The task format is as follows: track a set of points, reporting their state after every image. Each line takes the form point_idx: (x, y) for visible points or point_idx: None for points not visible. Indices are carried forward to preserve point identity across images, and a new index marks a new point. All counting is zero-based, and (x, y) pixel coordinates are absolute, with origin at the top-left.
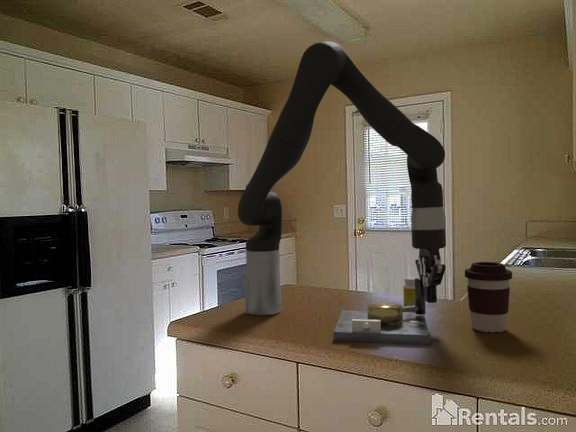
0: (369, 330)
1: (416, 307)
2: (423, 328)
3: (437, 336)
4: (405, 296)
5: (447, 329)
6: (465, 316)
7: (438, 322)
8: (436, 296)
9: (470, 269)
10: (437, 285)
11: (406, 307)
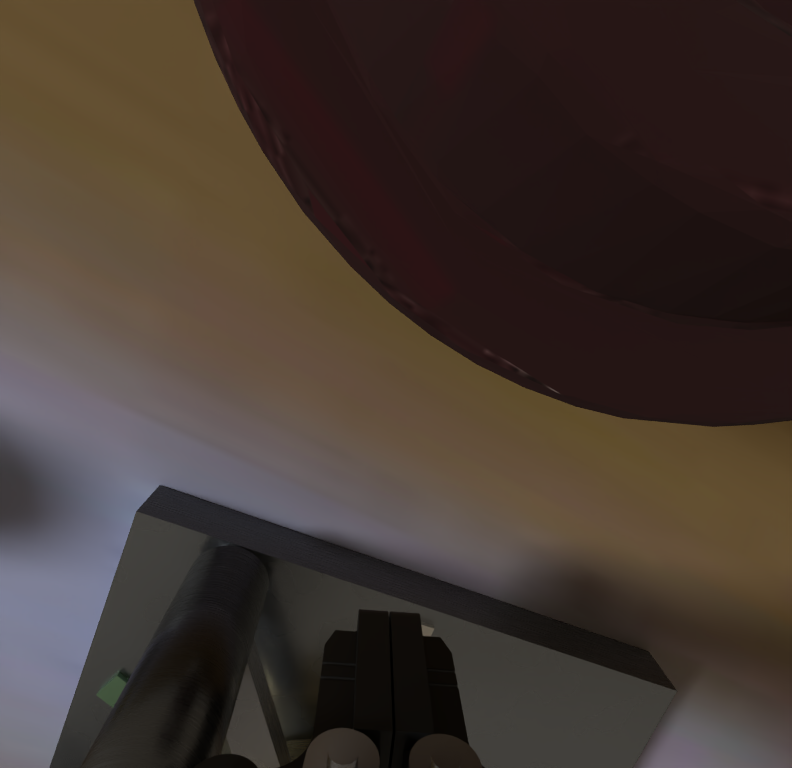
0: None
1: (250, 661)
2: (540, 672)
3: (525, 552)
4: None
5: (406, 428)
6: (88, 100)
7: (225, 404)
8: (422, 646)
9: (655, 297)
10: (468, 749)
11: (263, 746)
